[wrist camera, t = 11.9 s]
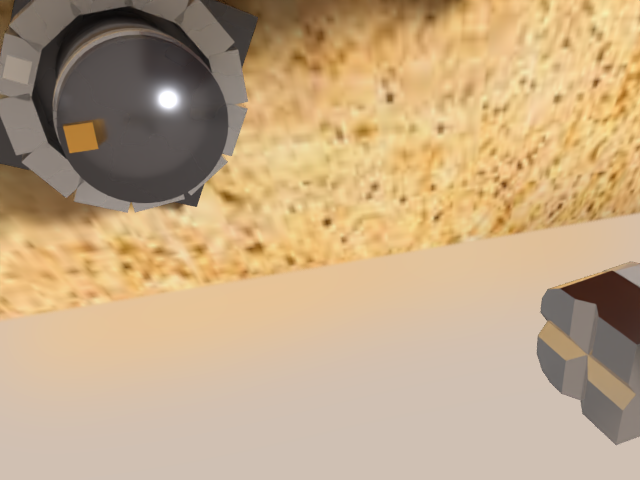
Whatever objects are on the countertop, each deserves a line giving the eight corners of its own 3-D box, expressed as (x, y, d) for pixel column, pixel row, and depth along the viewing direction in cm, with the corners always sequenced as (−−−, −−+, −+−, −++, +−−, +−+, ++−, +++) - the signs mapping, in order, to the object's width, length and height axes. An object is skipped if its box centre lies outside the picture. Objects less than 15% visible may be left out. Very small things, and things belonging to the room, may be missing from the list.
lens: (175, 2, 25) (223, 28, 18) (193, 127, 27) (241, 192, 20) (37, 14, 23) (31, 47, 16) (69, 146, 25) (75, 223, 18)
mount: (252, 14, 27) (277, 26, 24) (192, 199, 30) (208, 231, 26) (30, -73, 23) (24, -72, 19) (-15, 151, 25) (-26, 184, 22)
